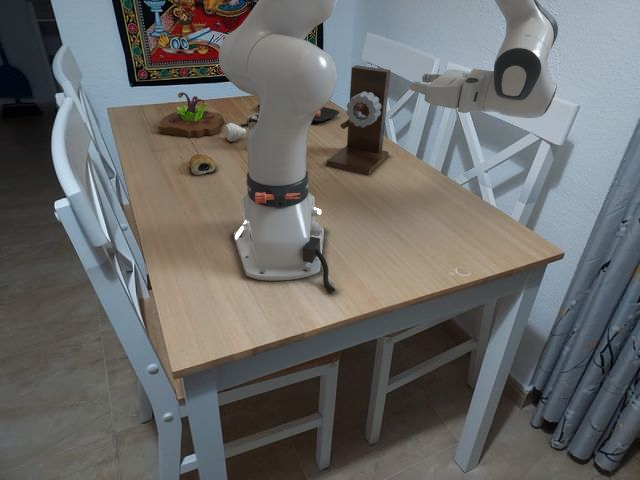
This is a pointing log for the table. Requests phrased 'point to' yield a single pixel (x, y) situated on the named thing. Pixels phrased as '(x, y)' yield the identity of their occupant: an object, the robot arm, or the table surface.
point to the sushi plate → (318, 115)
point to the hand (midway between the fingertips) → (417, 81)
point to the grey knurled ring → (371, 104)
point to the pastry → (201, 164)
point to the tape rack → (367, 140)
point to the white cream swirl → (233, 132)
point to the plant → (191, 120)
